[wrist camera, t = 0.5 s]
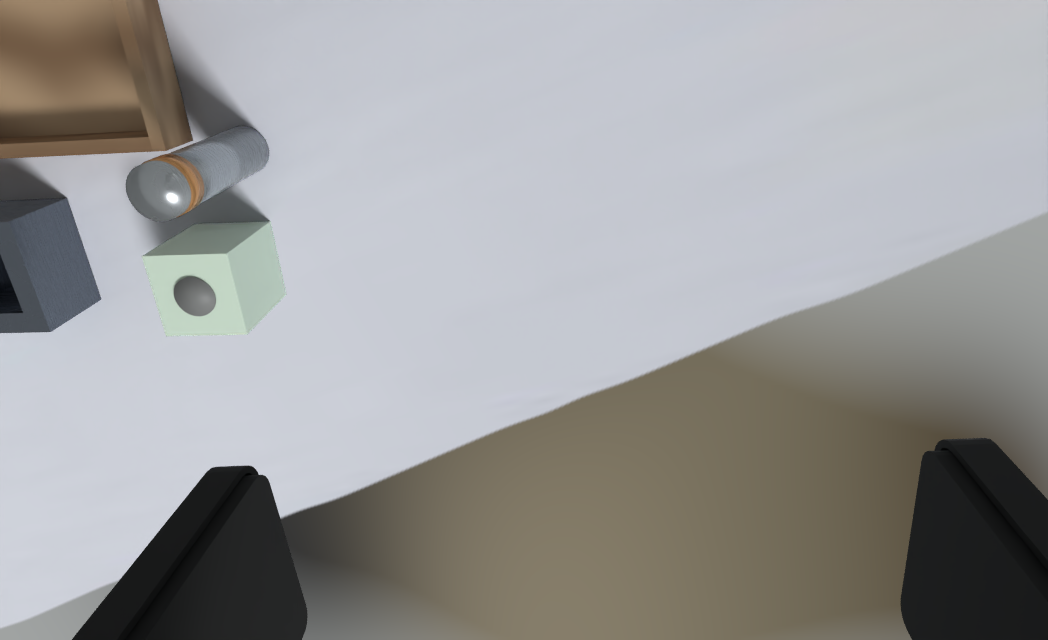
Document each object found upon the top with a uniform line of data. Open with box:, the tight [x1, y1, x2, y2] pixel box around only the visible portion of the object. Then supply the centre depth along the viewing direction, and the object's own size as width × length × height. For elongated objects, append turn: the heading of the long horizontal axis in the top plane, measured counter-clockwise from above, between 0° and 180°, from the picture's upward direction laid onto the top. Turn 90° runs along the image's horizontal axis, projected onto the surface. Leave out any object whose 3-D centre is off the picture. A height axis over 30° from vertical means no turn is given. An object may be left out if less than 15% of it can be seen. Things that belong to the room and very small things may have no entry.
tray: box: [0, 0, 193, 159], centre depth 40 cm, size 13×17×3 cm
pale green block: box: [142, 221, 286, 336], centre depth 43 cm, size 5×5×6 cm
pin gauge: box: [126, 126, 269, 222], centre depth 38 cm, size 3×3×10 cm
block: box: [0, 198, 101, 333], centre depth 45 cm, size 7×7×5 cm
